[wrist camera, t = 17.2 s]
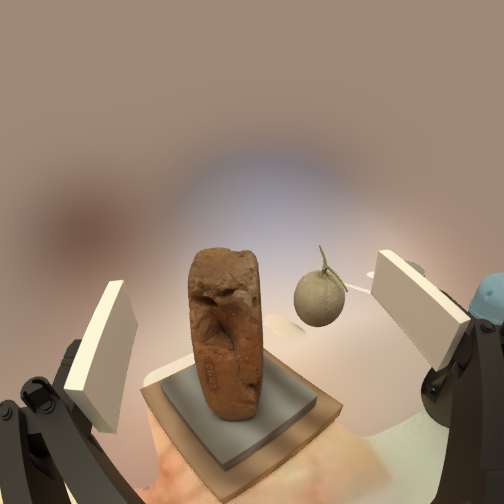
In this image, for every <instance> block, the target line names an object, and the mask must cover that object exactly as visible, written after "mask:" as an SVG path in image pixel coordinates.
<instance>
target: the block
mask: <svg viewBox="0 0 504 504" xmlns="http://www.w3.org/2000/svg"><path fill="white" fill-rule="evenodd" d="M258 271H259V270H258V262H257V259H256V256H255V255H254V254H253V253H252V252H251V251H249V250H247V251H246V250H245V251H240V252H237V251H230V249H226V248H209V249H204V250H202V251H200V252H198V253H197V254H196V256H195V258H194V260H193V263H192V265H191V268H190V271H189V277H188V298H189V308H190V313H189V314H190V328H191V339H192V345H193V352H194V358H195V364H196V369H197V373H198V377H199V381H200V384H201V388H202V391H203V395H204V398H205V401H206V403H207V405H208V407H209V408H210V409H211V410H212V411H213V412H214V413H215V414H217V415H219V416H220V417H222V418H223V419H225V420H232V421H238V420H243V419H248V418H250V417H252V416H253V415H254V414H255V412H256V409H257V407H258V403H259V400H260V395H261V389H262V382H263V367H264V357H263V330H262V311H261V295H260V294H261V293H260V278H259V272H258Z"/></svg>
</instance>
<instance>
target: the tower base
mask: <svg viewBox="0 0 504 504" xmlns="http://www.w3.org/2000/svg"><path fill="white" fill-rule="evenodd" d="M263 357H264V367H263V382H262V389H261V395H260V400H259V403H258V407H257V409H256V412H255V414H254V415H253V416H252V417H250V418H248V419H243V420H238V421H232V420H225V419H223V418H222V417H220V416H219V415H217V414H215V413H214V412H213V411H212V410H211V409H210V408H209V407H208V405H207V403H206V401H205V398H204V395H203V391H202V388H201V384H200V381H199V377H198V373H197V369H196V364H193V365H191V366H189V367H187V368H185V369H183V370H181V371H179V372H177V373H175V374H173V375H171V376H169V377H166V378H164V379H162V380H160V381H158V382H156V383H153V384H151V385H149V386H147V387H145V388H142V389H140V391H141V393H142V395H143V397H144V399H145V401H146V402H147V404H148V406H149V407H150V409H151V411H152V412H153V414H154V415H155V417H156V418H157V420H158V422H159V423H160V425H161V426H162V428H163V429H164V431H165V432H166V434H167V435H168V436H169V438H170V439H171V441H172V442H173V444H174V445H175V446H176V448H177V449H178V450H179V452H180V453H181V455H182V456H183V457H184V459H185V460H186V461H187V462H188V464H189V465H190V466H191V468H192V469H193V470H194V471H195V473H196V474H197V475H198V476H199V477H200V479H201V480H202V481H203V482H204V483H205V485H206V486H207V487H208V488H209V489H210V490H211V491H212V493H213V494H214V495H215V496H216V497H217V498H218V499H219V500H220V501H221V502H222V503H223V504H224V503H226V502H228V501H229V500H231V499H233V498H234V497H236V496H238V495H239V494H241V493H242V492H244V491H246V490H247V489H249V488H250V487H252V486H253V485H255V484H256V483H258V482H259V481H261V480H262V479H263V478H265V477H266V476H268V475H269V474H270V473H272V472H273V471H275V470H276V469H277V468H279V467H280V466H281V465H283V464H284V463H285V462H286V461H288V460H289V459H290V458H291V457H293V456H294V455H295V454H296V453H298V452H299V451H300V450H301V449H303V448H304V447H305V446H306V445H307V444H308V443H310V442H311V441H312V440H313V439H314V438H315V437H316V436H318V435H319V434H320V433H321V432H322V431H323V430H324V429H325V428H326V427H327V426H328V425H330V424H331V423H332V422H333V421H334V420H335V419H336V418H337V417H338V416H339V415H340V412H341V410H342V407H343V404H341V403H340V402H338V401H337V400H335V399H334V398H332V397H331V396H329V395H328V394H326V393H325V392H323V391H322V390H321V389H319V388H318V387H316V386H315V385H313V384H312V383H310V382H309V381H308V380H306V379H305V378H303V377H302V376H301V375H299V374H298V373H296V372H295V371H293V370H292V369H291V368H290V367H288V366H287V365H286V364H284V363H283V362H281V361H280V360H278V359H277V358H276V357H275V356H273V355H272V354H271V353H269V352H268V351H267V350H266V349H264V348H263Z"/></svg>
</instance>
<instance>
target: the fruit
mask: <svg viewBox="0 0 504 504" xmlns="http://www.w3.org/2000/svg"><path fill="white" fill-rule="evenodd" d="M319 247H320V251H321V253H322V256H323V261H324V264H323V267H322V268H323V270H321V271H320V270H318V271H313V272H310V273H308V274H307V275H305V276H303V277H302V278H301V280H300V281H299V283H298V285H297V287H296V289H295V293H294V306H295V310H296V312H297V314H298V316H299V317H300V319H301V320H302V321H304V322H305V323H306V324H308V325H310V326H314V327H322V326H326V325H328V324H330V323H332V322H333V321H334V320H335V319H336V318H337V317H338V316H339V315H340V313H341V311H342V309H343V306H344V301H345V291H344V288H345V290H346V292H348V290H347V288H346V286H345V285H344V283H343V282H342V280H341V279H340V278H339V276H338V275H337V274H336V273H335V272H334V271H333V270H332V269H331V268H330V267H329V266H328V265H327V261H326V258H325V255H324V253H323V251H322V249H321V246H319ZM327 269H328V270H330V271H331V272H332V273H331V272H328V271H327Z"/></svg>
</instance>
